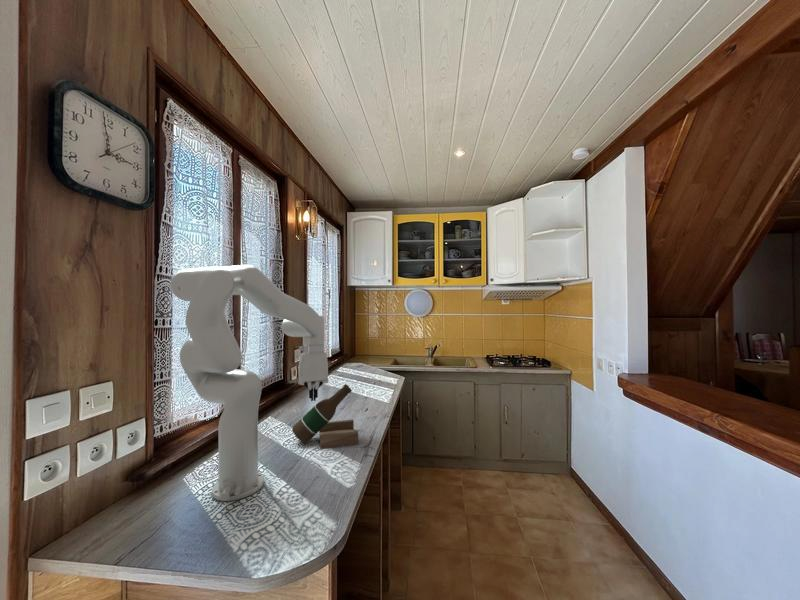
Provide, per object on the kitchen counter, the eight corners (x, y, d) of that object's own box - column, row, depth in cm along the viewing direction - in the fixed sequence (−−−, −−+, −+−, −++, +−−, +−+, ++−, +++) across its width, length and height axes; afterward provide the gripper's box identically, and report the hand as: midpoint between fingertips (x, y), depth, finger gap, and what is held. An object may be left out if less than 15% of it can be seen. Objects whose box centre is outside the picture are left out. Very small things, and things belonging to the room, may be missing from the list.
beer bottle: (308, 443, 117) (357, 395, 123) (302, 445, 110) (354, 394, 116) (295, 426, 119) (343, 380, 125) (288, 428, 112) (340, 378, 117)
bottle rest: (358, 444, 113) (358, 432, 113) (320, 448, 110) (320, 437, 110) (353, 429, 127) (353, 419, 127) (319, 433, 123) (319, 422, 123)
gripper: (291, 351, 111) (291, 404, 110) (335, 349, 115) (335, 401, 114) (292, 348, 118) (292, 399, 117) (333, 347, 122) (333, 395, 121)
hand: (313, 400), depth 116 cm, fingers closed
